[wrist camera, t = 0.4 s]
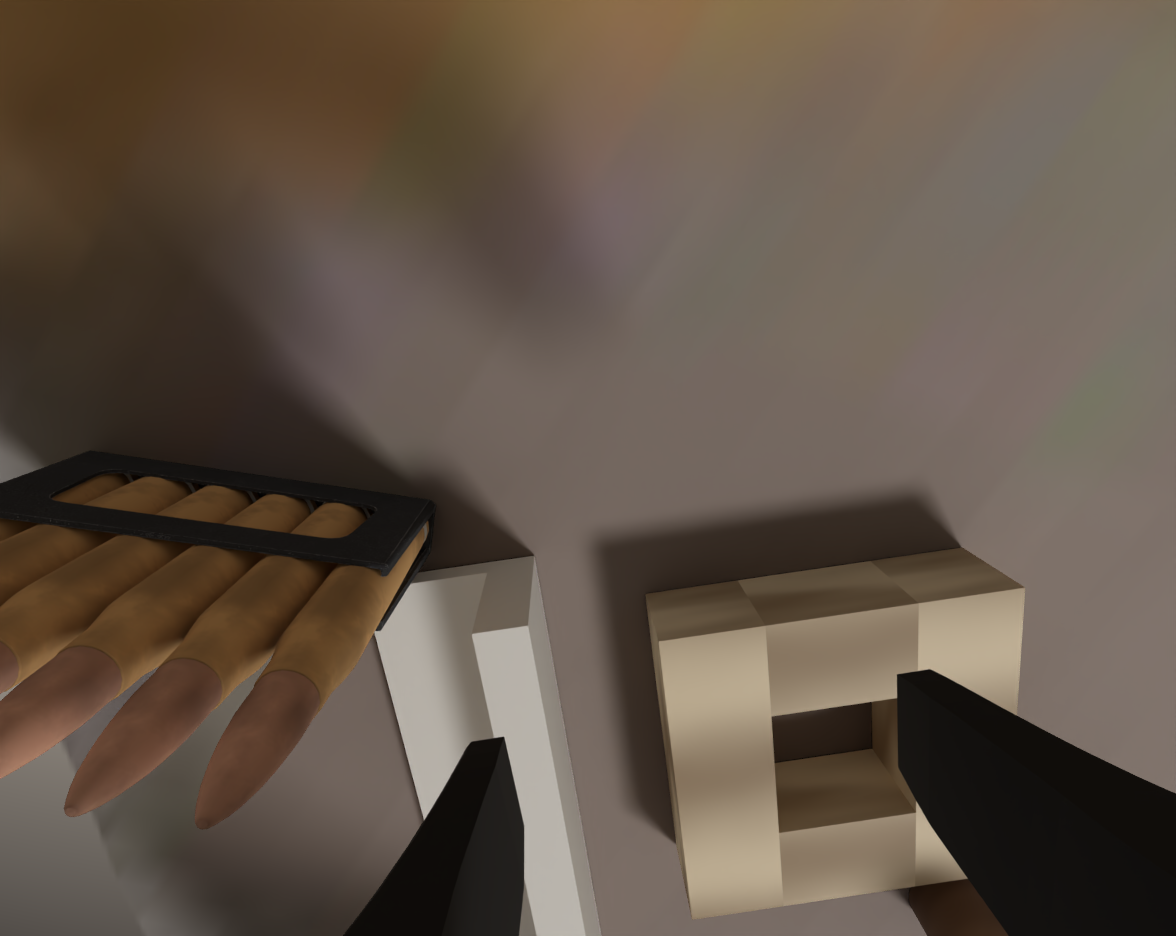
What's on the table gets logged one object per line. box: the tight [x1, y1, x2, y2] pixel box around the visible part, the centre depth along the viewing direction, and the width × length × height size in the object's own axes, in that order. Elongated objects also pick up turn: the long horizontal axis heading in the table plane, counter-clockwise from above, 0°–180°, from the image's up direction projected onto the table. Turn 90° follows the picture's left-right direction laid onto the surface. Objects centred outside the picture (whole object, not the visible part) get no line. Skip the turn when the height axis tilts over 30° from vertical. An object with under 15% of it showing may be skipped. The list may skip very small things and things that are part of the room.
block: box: [645, 548, 1025, 920], centre depth 21 cm, size 11×11×3 cm
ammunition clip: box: [0, 451, 436, 829], centre depth 14 cm, size 11×2×12 cm, turn 80°
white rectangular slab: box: [374, 556, 601, 936], centre depth 21 cm, size 18×6×4 cm, turn 8°
